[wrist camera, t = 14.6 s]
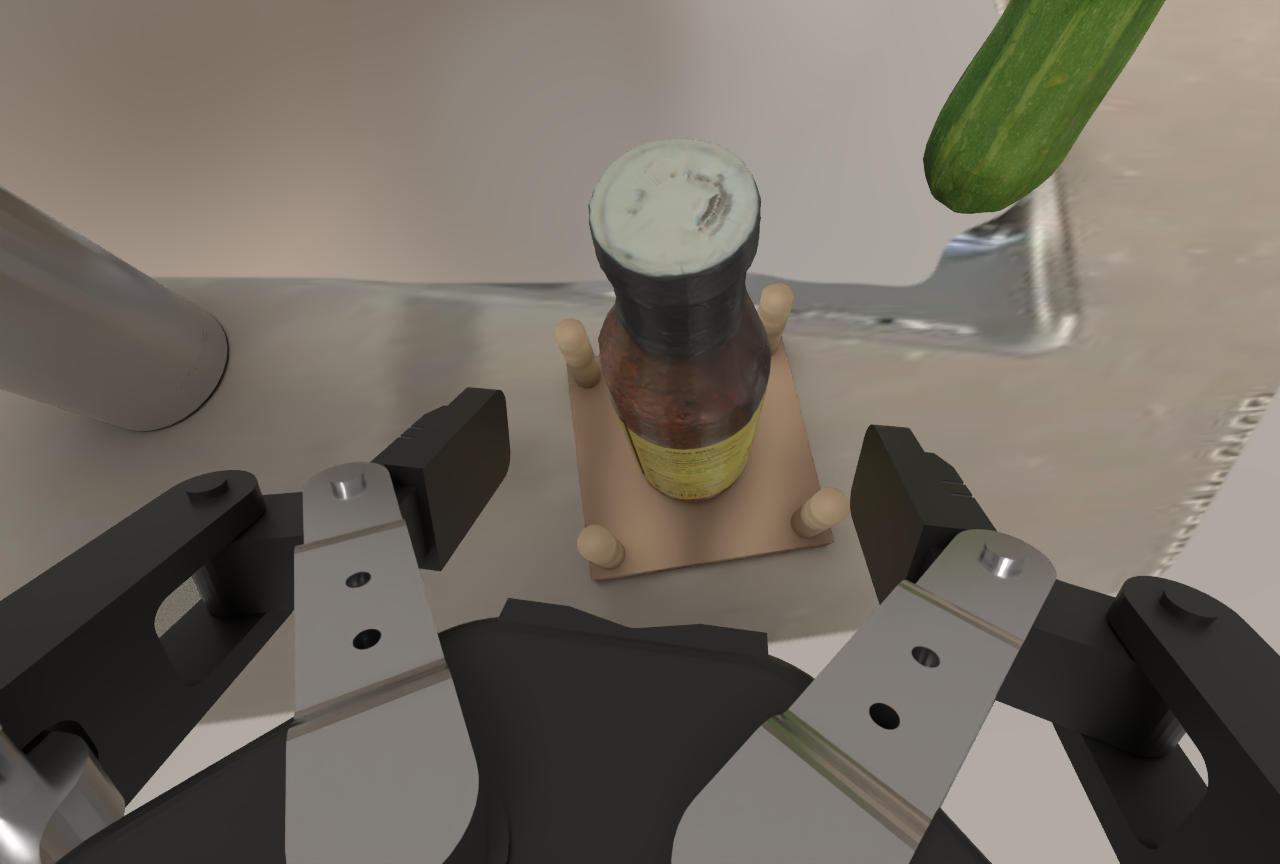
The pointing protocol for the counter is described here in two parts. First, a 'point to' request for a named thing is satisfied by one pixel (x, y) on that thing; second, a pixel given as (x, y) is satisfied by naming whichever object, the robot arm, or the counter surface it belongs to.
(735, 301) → the sauce bottle
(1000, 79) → the vegetable
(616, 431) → the peg stand
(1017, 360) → the counter surface
